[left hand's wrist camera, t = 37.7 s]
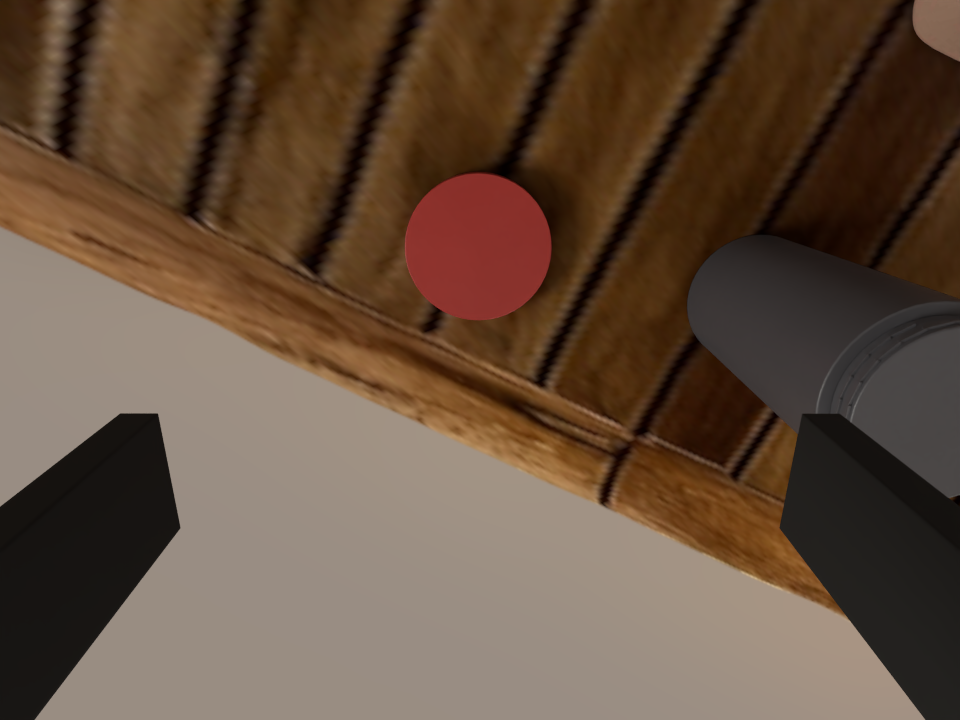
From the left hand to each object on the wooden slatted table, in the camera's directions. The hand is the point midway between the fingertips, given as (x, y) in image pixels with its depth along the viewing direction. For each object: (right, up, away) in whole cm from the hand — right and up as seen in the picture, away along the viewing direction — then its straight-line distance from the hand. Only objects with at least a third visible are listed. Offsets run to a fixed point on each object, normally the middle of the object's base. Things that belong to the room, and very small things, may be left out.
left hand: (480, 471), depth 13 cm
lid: (0, +9, +27) cm, 28 cm away
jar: (+18, +6, +29) cm, 35 cm away
